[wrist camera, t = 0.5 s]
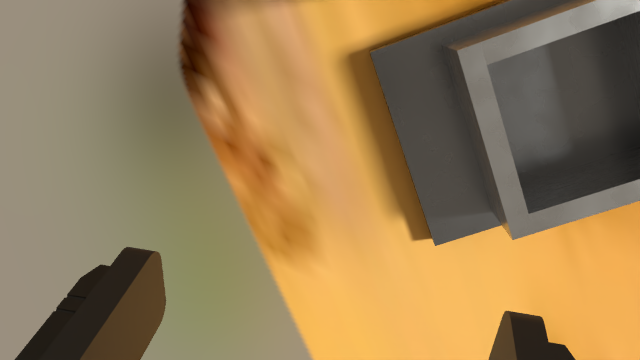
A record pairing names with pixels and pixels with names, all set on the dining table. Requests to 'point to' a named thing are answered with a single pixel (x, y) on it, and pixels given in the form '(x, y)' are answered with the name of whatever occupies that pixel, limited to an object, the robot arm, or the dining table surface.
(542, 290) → the dining table surface
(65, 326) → the robot arm
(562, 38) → the steel sleeve
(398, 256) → the dining table surface
